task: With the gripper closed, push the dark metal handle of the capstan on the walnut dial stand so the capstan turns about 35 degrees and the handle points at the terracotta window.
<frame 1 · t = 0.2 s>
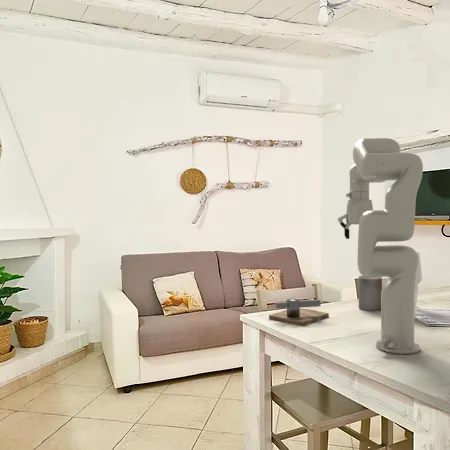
hand: (359, 238, 180), 31 cm above the table, tool pointing down, fingers open, 9 cm apart
champagne flute: (413, 309, 189), on the table
dial stand: (299, 317, 176), on the table
beer glass: (408, 318, 174), on the table
pillar candle: (370, 309, 190), on the table
capstan: (298, 307, 173), point 5 cm above the table, hinge at -35.0°
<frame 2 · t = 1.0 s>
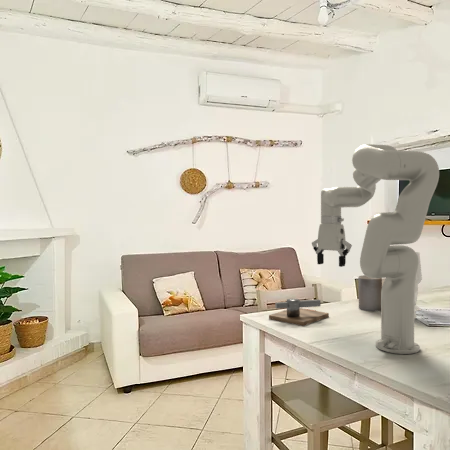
hand: (331, 265, 171), 21 cm above the table, tool pointing down, fingers open, 9 cm apart
nothing on the table moved.
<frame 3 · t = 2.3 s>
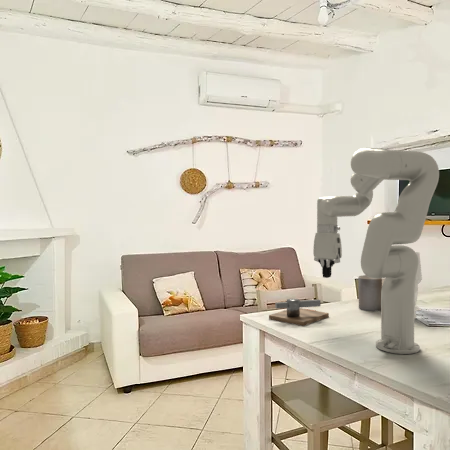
hand: (326, 277, 170), 17 cm above the table, tool pointing down, fingers closed
nothing on the table moved.
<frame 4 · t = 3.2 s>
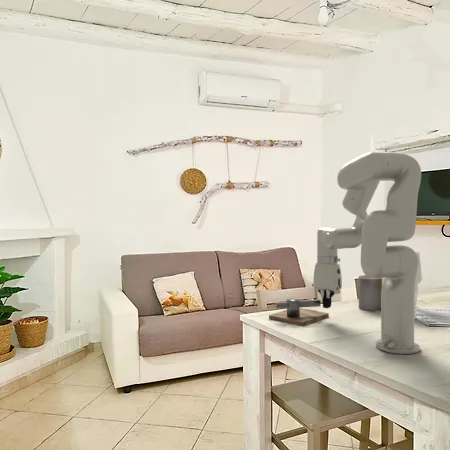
hand: (326, 307, 171), 5 cm above the table, tool pointing down, fingers closed
nothing on the table moved.
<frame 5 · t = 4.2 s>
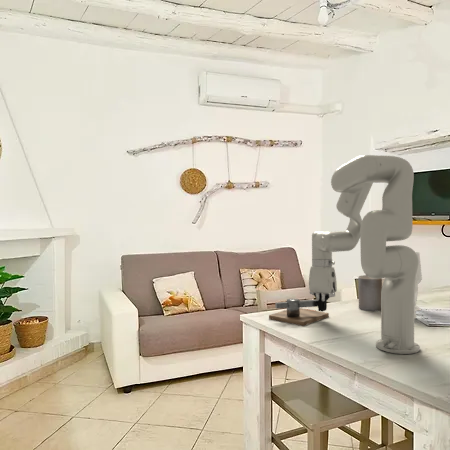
hand: (322, 310, 172), 4 cm above the table, tool pointing down, fingers closed
capstan: (298, 307, 173), point 5 cm above the table, hinge at -34.4°, touching gripper
everything else where it was.
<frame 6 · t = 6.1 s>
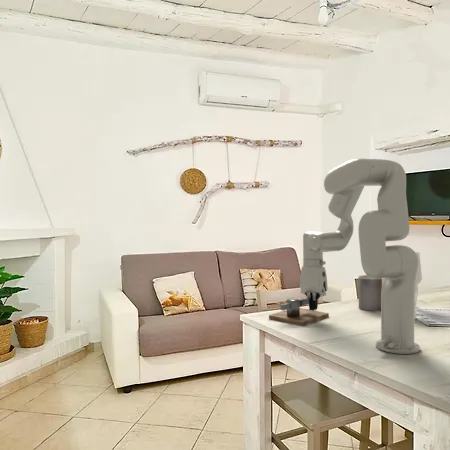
hand: (313, 309, 175), 3 cm above the table, tool pointing down, fingers closed
capstan: (296, 306, 174), point 5 cm above the table, hinge at -2.3°
everything else where it was.
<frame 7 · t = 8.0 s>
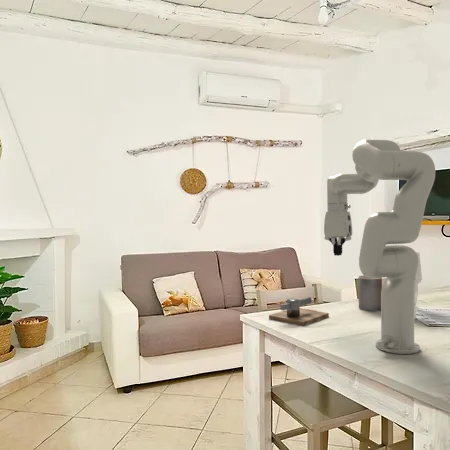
hand: (337, 255, 173), 25 cm above the table, tool pointing down, fingers closed
nothing on the table moved.
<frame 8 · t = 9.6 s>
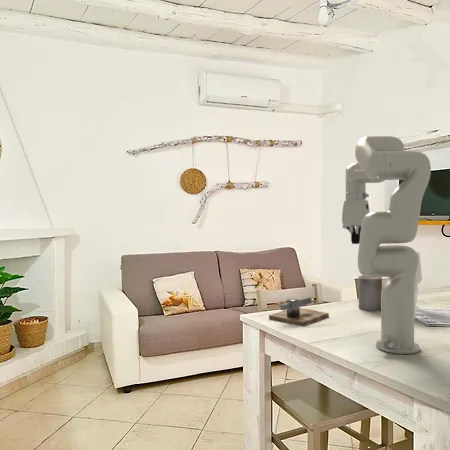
hand: (355, 243, 175), 29 cm above the table, tool pointing down, fingers closed
nothing on the table moved.
at the end: capstan at -2° (first picture: -35°) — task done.
